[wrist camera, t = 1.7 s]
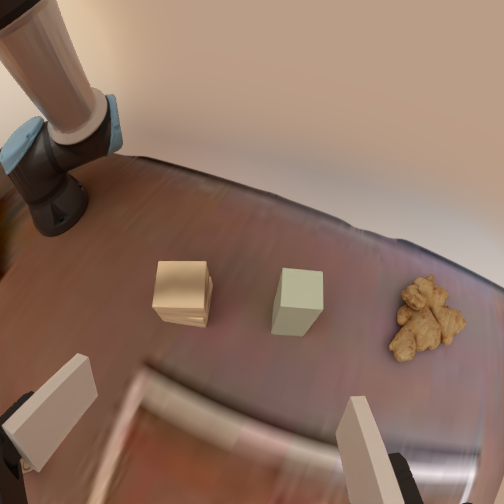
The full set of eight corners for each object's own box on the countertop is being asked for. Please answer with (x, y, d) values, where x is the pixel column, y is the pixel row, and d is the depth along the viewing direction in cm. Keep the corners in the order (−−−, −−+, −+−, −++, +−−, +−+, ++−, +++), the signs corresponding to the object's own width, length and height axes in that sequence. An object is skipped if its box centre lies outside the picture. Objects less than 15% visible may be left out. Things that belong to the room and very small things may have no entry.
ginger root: (445, 278, 46) (469, 267, 38) (444, 358, 41) (469, 357, 34) (379, 272, 47) (398, 259, 40) (375, 361, 42) (395, 363, 35)
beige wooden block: (172, 282, 46) (167, 271, 43) (213, 287, 46) (210, 276, 43) (163, 321, 43) (156, 312, 39) (206, 328, 42) (202, 320, 39)
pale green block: (273, 303, 45) (282, 267, 34) (304, 306, 44) (322, 271, 34) (270, 333, 42) (280, 306, 32) (303, 336, 42) (323, 309, 32)
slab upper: (165, 274, 43) (158, 261, 39) (209, 274, 43) (206, 261, 39) (160, 316, 39) (152, 306, 35) (207, 318, 39) (203, 308, 36)
